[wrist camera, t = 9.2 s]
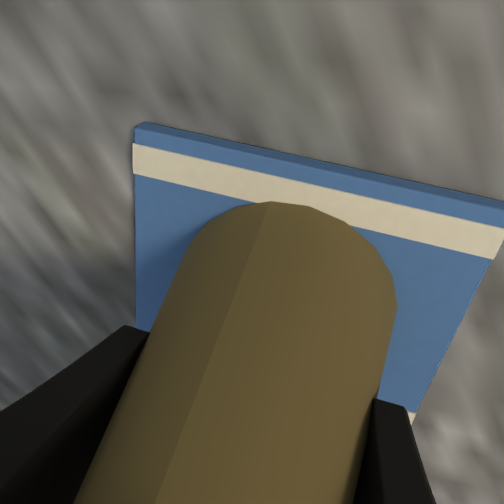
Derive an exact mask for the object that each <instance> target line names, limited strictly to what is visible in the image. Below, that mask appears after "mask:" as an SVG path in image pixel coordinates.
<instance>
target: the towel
mask: <svg viewBox="0 0 504 504" xmlns="http://www.w3.org/2000/svg"><path fill="white" fill-rule="evenodd" d="M133 173H134V174H135V262H136V328H137V329H140V330H143V331H147V332H150V330H151V328H152V326H153V323H154V321H155V319H156V317H157V314H158V312H159V310H160V308H161V305H162V303H163V301H164V299H165V296H166V294H167V292H168V290H169V287H170V285H171V283H172V281H173V279H174V276H175V274H176V272H177V270H178V267H179V265H180V263H181V261H182V258H183V256H184V254H185V252H186V249H187V247H188V245H189V243H190V242H191V241H192V240H193V239H194V237H195V236H196V235H197V234H198V233H199V231H200V230H201V229H202V228H203V227H204V226H205V224H206V223H207V222H209V221H211V220H212V219H214V218H216V217H218V216H220V215H222V214H223V213H225V212H227V211H229V210H231V209H233V208H234V207H238V206H244V205H250V204H256V203H262V202H268V201H274V202H282V203H290V204H297V205H305V206H310V207H312V208H315V209H317V210H319V211H322V212H324V213H326V214H328V215H331V216H333V217H335V218H338V219H340V220H342V221H345V222H346V223H347V224H348V225H350V226H351V227H352V228H353V229H354V230H356V231H357V232H358V233H359V234H360V235H361V236H363V237H364V238H365V239H366V240H367V241H369V242H370V243H371V244H372V245H373V246H374V247H375V248H376V250H377V252H378V253H379V255H380V257H381V258H382V260H383V261H384V263H385V265H386V266H387V268H388V270H389V271H390V273H391V274H392V277H393V282H394V288H395V293H396V298H397V304H398V308H397V312H396V317H395V321H394V326H393V330H392V334H391V339H390V343H389V348H388V352H387V356H386V361H385V365H384V369H383V374H382V378H381V382H380V387H379V391H378V395H377V399H380V400H383V401H387V402H390V403H394V404H397V405H400V406H404V407H405V409H406V410H407V412H408V416H409V420H410V424H412V422H413V420H414V418H415V416H416V411H417V409H418V407H419V405H420V403H421V401H422V399H423V397H424V395H425V393H426V391H427V389H428V387H429V385H430V383H431V381H432V379H433V377H434V375H435V373H436V371H437V369H438V367H439V365H440V363H441V361H442V359H443V356H444V354H445V352H446V350H447V348H448V346H449V344H450V342H451V340H452V338H453V336H454V334H455V332H456V330H457V328H458V326H459V324H460V322H461V320H462V318H463V316H464V314H465V312H466V310H467V308H468V306H469V304H470V302H471V300H472V298H473V296H474V294H475V292H476V290H477V288H478V286H479V284H480V282H481V280H482V278H483V276H484V274H485V272H486V270H487V268H488V266H489V264H490V262H491V260H492V259H493V260H494V258H495V256H496V254H497V252H498V250H499V248H500V246H501V244H502V242H503V240H504V201H499V200H495V199H490V198H486V197H481V196H477V195H472V194H468V193H463V192H459V191H454V190H450V189H445V188H440V187H436V186H431V185H427V184H422V183H418V182H413V181H409V180H404V179H400V178H395V177H391V176H386V175H382V174H377V173H373V172H368V171H364V170H359V169H355V168H350V167H346V166H341V165H337V164H332V163H328V162H323V161H319V160H314V159H310V158H305V157H301V156H296V155H292V154H287V153H283V152H278V151H274V150H269V149H265V148H260V147H256V146H251V145H247V144H242V143H238V142H233V141H229V140H224V139H220V138H215V137H211V136H206V135H202V134H197V133H193V132H188V131H184V130H179V129H175V128H170V127H166V126H161V125H157V124H152V123H148V122H143V123H142V124H140V125H139V126H137V127H136V128H135V129H134V143H133Z"/></svg>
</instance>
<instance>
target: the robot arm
mask: <svg viewBox="0 0 504 504" xmlns="http://www.w3.org/2000/svg"><path fill="white" fill-rule="evenodd" d="M149 334H150V332H147V331H143V330H140V329H137V328H133V327H130V326H126V325H124V326H122V327H120V328H119V329H118V330H116V331H115V332H114V333H112V334H111V335H110V336H108V337H107V338H106V339H104V340H103V341H102V342H100V343H99V344H98V345H96V346H95V347H94V348H92V349H91V350H90V351H88V352H87V353H86V354H84V355H83V356H82V357H80V358H79V359H77V360H76V361H75V362H73V363H72V364H71V365H69V366H68V367H66V368H65V369H63V370H62V371H61V372H59V373H58V374H56V375H55V376H53V377H52V378H50V379H49V380H48V381H46V382H45V383H43V384H42V385H40V386H39V387H38V388H36V389H35V390H33V391H32V392H30V393H29V394H27V395H25V396H24V397H22V398H21V399H19V400H18V401H16V402H14V403H13V404H11V405H10V406H8V407H6V408H5V409H3V410H2V411H0V504H73V503H74V500H75V498H76V496H77V494H78V491H79V489H80V487H81V485H82V482H83V480H84V478H85V476H86V474H87V471H88V469H89V467H90V465H91V462H92V460H93V458H94V456H95V453H96V451H97V449H98V447H99V444H100V442H101V440H102V438H103V435H104V433H105V431H106V429H107V426H108V424H109V422H110V420H111V417H112V415H113V413H114V411H115V409H116V406H117V404H118V402H119V400H120V397H121V395H122V393H123V391H124V388H125V386H126V384H127V382H128V379H129V377H130V375H131V373H132V370H133V368H134V366H135V364H136V361H137V359H138V357H139V355H140V352H141V350H142V348H143V346H144V344H145V342H146V340H147V338H148V336H149ZM353 504H436V502H435V499H434V496H433V494H432V491H431V488H430V485H429V482H428V479H427V476H426V473H425V470H424V467H423V464H422V461H421V458H420V455H419V451H418V448H417V445H416V441H415V438H414V435H413V431H412V427H411V424H410V420H409V416H408V412H407V410H406V409H405V407H404V406H400V405H397V404H394V403H390V402H387V401H383V400H380V399H376V398H374V399H373V403H372V411H371V418H370V426H369V433H368V439H367V443H366V447H365V452H364V456H363V460H362V465H361V469H360V474H359V478H358V482H357V487H356V491H355V496H354V500H353Z"/></svg>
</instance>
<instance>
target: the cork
mask: <svg viewBox="0 0 504 504" xmlns="http://www.w3.org/2000/svg"><path fill="white" fill-rule="evenodd" d="M397 308H398V304H397V298H396V293H395V288H394V282H393V277H392V274H391V273H390V271H389V270H388V268H387V266H386V265H385V263H384V261H383V260H382V258H381V257H380V255H379V253H378V252H377V250H376V248H375V247H374V246H373V245H372V244H371V243H370V242H369V241H367V240H366V239H365V238H364V237H363V236H361V235H360V234H359V233H358V232H357V231H356V230H354V229H353V228H352V227H351V226H350V225H348V224H347V223H346V222H345V221H342V220H340V219H338V218H335V217H333V216H331V215H328V214H326V213H324V212H322V211H319V210H317V209H315V208H312V207H310V206H305V205H297V204H290V203H282V202H274V201H268V202H262V203H256V204H250V205H244V206H238V207H234V208H233V209H231V210H229V211H227V212H225V213H223V214H222V215H220V216H218V217H216V218H214V219H212V220H211V221H209V222H207V223H206V224H205V226H204V227H203V228H202V229H201V230H200V231H199V233H198V234H197V235H196V236H195V237H194V239H193V240H192V241H191V242H190V243H189V245H188V247H187V249H186V252H185V254H184V256H183V258H182V261H181V263H180V265H179V267H178V270H177V272H176V274H175V276H174V279H173V281H172V283H171V285H170V287H169V290H168V292H167V294H166V296H165V299H164V301H163V303H162V305H161V308H160V310H159V312H158V314H157V317H156V319H155V321H154V323H153V326H152V328H151V330H150V334H149V336H148V338H147V340H146V342H145V344H144V346H143V348H142V350H141V352H140V355H139V357H138V359H137V361H136V364H135V366H134V368H133V370H132V373H131V375H130V377H129V379H128V382H127V384H126V386H125V388H124V391H123V393H122V395H121V397H120V400H119V402H118V404H117V406H116V409H115V411H114V413H113V415H112V417H111V420H110V422H109V424H108V426H107V429H106V431H105V433H104V435H103V438H102V440H101V442H100V444H99V447H98V449H97V451H96V453H95V456H94V458H93V460H92V462H91V465H90V467H89V469H88V471H87V474H86V476H85V478H84V480H83V482H82V485H81V487H80V489H79V491H78V494H77V496H76V498H75V500H74V503H73V504H353V500H354V496H355V491H356V487H357V482H358V478H359V474H360V469H361V465H362V460H363V456H364V452H365V447H366V443H367V439H368V433H369V426H370V418H371V411H372V403H373V399H374V398H376V399H377V395H378V391H379V387H380V382H381V378H382V374H383V369H384V365H385V361H386V356H387V352H388V348H389V343H390V339H391V334H392V330H393V326H394V321H395V317H396V312H397Z"/></svg>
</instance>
